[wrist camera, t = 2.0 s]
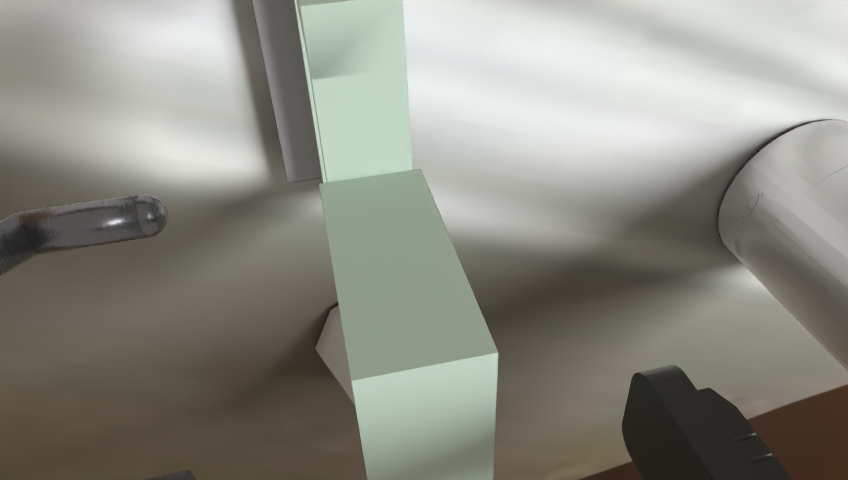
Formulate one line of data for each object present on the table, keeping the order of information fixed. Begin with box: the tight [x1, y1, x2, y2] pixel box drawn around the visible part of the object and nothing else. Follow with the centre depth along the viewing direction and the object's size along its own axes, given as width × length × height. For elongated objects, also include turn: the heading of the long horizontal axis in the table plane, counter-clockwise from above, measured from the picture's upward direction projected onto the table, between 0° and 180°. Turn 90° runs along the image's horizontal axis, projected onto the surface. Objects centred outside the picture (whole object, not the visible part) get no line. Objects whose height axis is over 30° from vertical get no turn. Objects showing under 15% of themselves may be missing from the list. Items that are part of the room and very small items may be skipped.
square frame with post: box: [252, 0, 498, 480], centre depth 19 cm, size 5×12×19 cm, turn 2°
